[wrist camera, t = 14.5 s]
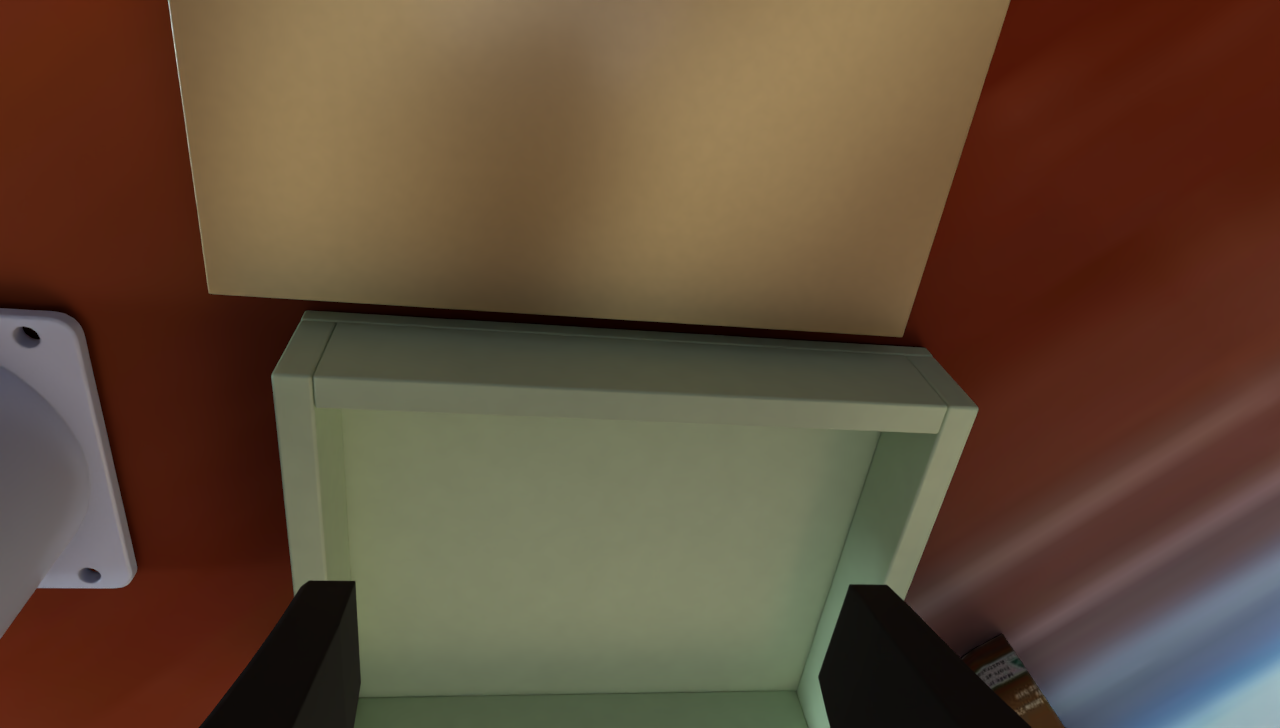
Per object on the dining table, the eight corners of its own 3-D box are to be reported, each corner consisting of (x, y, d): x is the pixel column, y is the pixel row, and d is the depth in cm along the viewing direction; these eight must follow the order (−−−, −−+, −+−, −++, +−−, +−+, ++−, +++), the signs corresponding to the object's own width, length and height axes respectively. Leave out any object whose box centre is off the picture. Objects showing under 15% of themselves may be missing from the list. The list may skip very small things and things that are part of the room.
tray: (335, 701, 25) (313, 792, 23) (304, 309, 19) (269, 373, 16) (808, 692, 28) (837, 773, 25) (926, 347, 21) (981, 407, 19)
